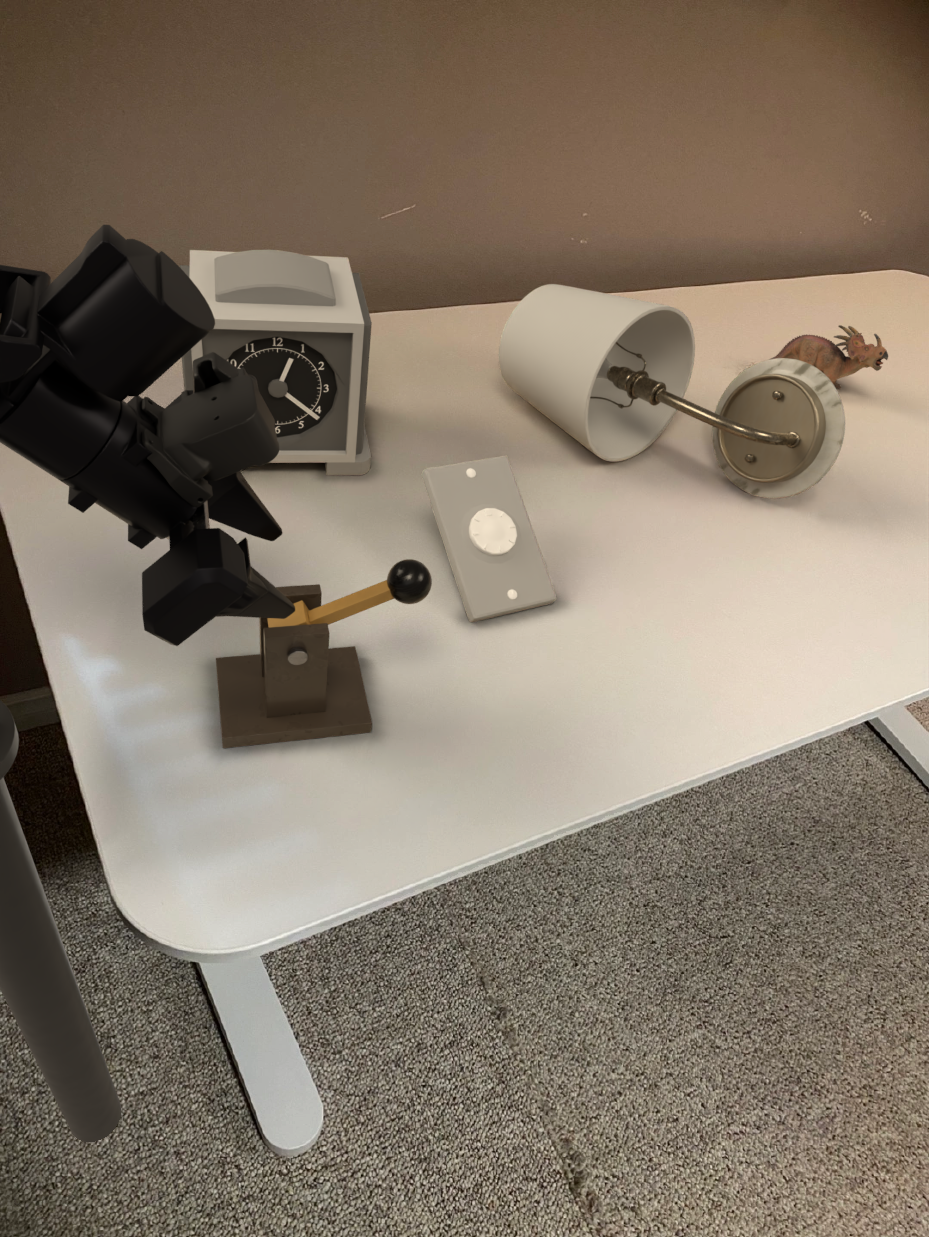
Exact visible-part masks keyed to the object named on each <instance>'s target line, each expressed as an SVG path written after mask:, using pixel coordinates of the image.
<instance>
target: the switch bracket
mask: <svg viewBox="0 0 929 1237" xmlns="http://www.w3.org/2000/svg"><path fill="white" fill-rule="evenodd" d="M275 587H276V588H277V589H278V590H279V591H280V592H282V593H283V594H284V595H285V596H286V597H287V598H288V599H289V600H290V601H291V602H292V603H293V604H294V603H296V602H299V601H301V600H302V601H303V602H304V603H305V605H306V606H307V608H308V609H309V611H310V610H312V609H315V608H317V607H320V606H322V597H323V593H322V588H321V584H320V583H318V584H317V583H316V584H303V585H285V586H275ZM258 621H259V622H258V626H259V628H258V630H259V631H258V632H259V653H257V654H245V655H233V656H222V657H221V656H220V657H215V668H216V681H217V694H218V706H219V718H220V719H219V720H220V731H221V732H220V733H221V744H222V749H230V748H239V747H249V746H258V745H259V746H260V745H267V744H275V743H285V742H287V743H288V742H295V741H304V740H313V739H323V738H333V737H341V736H342V737H343V736H351V735H359V734H360V735H361V734H368V733H369V734H370V733H372V727H373V720H372V716H371V711H370V706H369V703H368V699H367V694H366V688H365V685H364V684H365V683H364V679H363V676H362V670H361V665H360V661H359V657H358V652H357V649H356V648H357V647H356V646H341V647H330V629H329V625H328V624H327V623H322V624H309V625H295V626H282V627H268V619H267V618H258Z"/></svg>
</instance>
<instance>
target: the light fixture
mask: <svg viewBox="0 0 929 1237" xmlns="http://www.w3.org/2000/svg"><path fill="white" fill-rule="evenodd" d="M497 356H498V367H499V371H500V375H501V377H502V380H503V381H504V383H505V385H506V386H507V387H509V389H510V390H511V391H513V392H514V393H515V394H516V395H518V396H519V397H520V398H522V399H523V400H524V401H525V402H527V403H528V404H529V405H531V406H532V407H533V408H534V409H536V410H537V411H539V412H540V413H541V414H542V415H544V416H545V417H546V418H547V419H548V420H550V421H551V422H552V423H554V424H555V425H556V426H558V427H559V428H560V429H561V430H563V431H564V432H565V433H567V434H568V435H569V436H570V437H572V438H573V439H574V440H576V441H577V443H579V444H580V445H581V446H583V447H585V449H587V450H588V451H589V452H591V453H592V454H594V455H595V456H597V457H598V458H600V459H601V460H604V461H607V462H614V463H617V462H622V461H627V460H629V459H631V458H634V457H636V456H637V455H638V454H641V453H642V452H643V451H645V450H646V449H647V448H648V447H650V446H651V445H652V443H654V442H655V441H656V440H657V439H658V438H659V436H660V435H661V434H662V433H663V432H664V431H665V430H666V428H667V427H668V425H669V424H670V422H671V421H672V420H673V418H674V417H675V415H676V414H677V411H678V412H681V413H683V414H685V415H688V416H690V417H691V418H693V419H696V420H698V421H700V422H702V423H704V424H707V425H709V426H711V441H712V442H711V443H712V447H713V448H712V449H713V452H714V455H715V458H716V461H717V463H718V465H719V467H720V469H721V470H722V472H723V474H724V475H725V476H726V477H727V479H728V480H729V481H730V482H731V483H732V484H733V485H735V486H736V487H737V488H739V489H740V490H741V491H743V492H745V493H746V494H750V495H751V496H754V497H758V498H764V499H770V500H771V499H772V500H773V499H774V500H775V499H785V498H790V497H793V496H796V495H800V494H802V493H804V492H806V491H808V490H809V489H811V488H813V487H814V486H815V485H816V484H818V483H819V482H820V481H821V480H822V479H823V478H824V477H825V476H826V475H827V474H828V473H829V471H830V470H831V469H832V468H833V466H834V465H835V463H836V461H837V459H838V457H839V454H840V451H841V450H842V447H843V444H844V439H845V434H846V413H845V408H844V403H843V400H842V398H841V396H840V392H839V391H838V388H836V387H835V386H834V384H833V383H832V382H831V380H830V379H829V378H828V377H827V376H826V375H825V374H824V373H823V372H821V371H820V370H819V369H817V368H816V367H814V366H812V365H810V364H808V363H806V362H803V361H800V360H796V359H789V358H776V359H771V358H769V359H770V360H769V359H765V360H761V361H760V362H757V363H755V364H753V365H751V366H749V367H747V368H746V369H744V370H743V371H741V372H740V373H739V374H738V375H737V376H736V377H734V379H733V380H732V381H731V382H730V383H729V385H727V387H726V388H725V389H724V391H723V393H722V394H721V396H720V398H719V400H718V403H717V405H716V408H715V410H714V411H711V410H709V409H707V408H705V407H703V406H701V405H698V404H696V403H694V402H692V401H689V400H687V399H685V398H684V397H685V395H686V393H687V390H688V388H689V384H690V381H691V379H692V374H693V369H694V365H695V357H696V339H695V332H694V328H693V325H692V322H691V321H690V319H689V317H688V316H687V315H686V313H685V312H684V311H683V310H681V309H679V308H678V307H675V306H672V305H669V304H663V303H658V302H654V301H653V302H652V301H648V300H642V299H638V298H631V297H627V296H621V295H616V294H611V293H605V292H600V291H596V290H590V289H585V288H580V287H574V286H569V285H564V284H557V283H548V284H544V285H541V286H539V287H536V288H535V289H533V290H532V291H530V292H528V293H527V294H526V295H525V296H524V297H523V298H522V299H521V300H520V301H519V302H518V303H517V305H516V306H515V307H514V309H513V310H512V312H511V313H510V315H509V316H508V318H507V320H506V322H505V324H504V327H503V330H502V332H501V336H500V339H499V345H498V354H497Z"/></svg>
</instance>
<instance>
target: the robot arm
mask: <svg viewBox="0 0 929 1237" xmlns="http://www.w3.org/2000/svg"><path fill="white" fill-rule="evenodd" d="M51 279H52V278H51V275H50V274H49V273H47V272H46V271H42V270H36V269H29V268H23V267H17V266H16V267H15V266H10V265H4V264H0V314H1V315H0V444H1V445H3V446H5V447H6V448H8V449H9V450H11V451H13V452H15V453H16V454H18V455H19V456H21V457H22V458H24V459H25V460H27V461H28V462H30V463H31V464H33V465H35V467H38V468H40V469H41V470H43V471H44V472H46V473H47V474H49V475H51V476H52V477H54V478H55V479H57V480H58V481H60V482H62V484H64V485H66V486H67V487H68V495H67V496H68V499H67V504H68V505H70V506H71V507H72V508H74V509H76V510H78V511H79V512H81V513H82V514H85V512H86V511H87V510H88V509H90V508H91V507H92V506H93V505H94V504H95V505H97V506H99V507H100V508H102V509H104V510H105V511H107V512H109V513H110V514H111V515H113V516H115V517H116V518H118V519H120V520H121V521H123V522H124V523H126V524H127V541H128V542H129V543H130V544H132V545H133V546H136V547H137V548H139V549H140V550H144V548H145V547H147V546H148V545H149V544H150V543H151V542H153V541H154V540H155V539H157V538H158V539H160V540H164V539H167V540H168V542H169V550H168V551H166V552H165V553H164V554H162V555H161V556H160V557H159V558H158V559H156V560H155V561H154V562H153V563H152V564H151V565H149V566H148V567H147V568H146V569H144V570H143V571H142V572H141V601H142V602H141V608H142V609H141V610H142V612H141V614H142V622H143V629H144V631H145V632H147V633H149V634H150V635H152V636H154V637H156V638H158V639H159V640H161V641H163V642H165V643H167V644H169V645H171V646H175V647H179V646H180V645H181V644H182V643H184V642H185V641H186V640H188V639H189V638H190V637H192V636H193V635H194V634H195V633H197V632H198V631H200V629H202V628H203V627H204V626H206V625H207V624H208V623H210V622H211V621H212V620H213V619H215V618H216V617H217V618H218V617H232V618H233V617H234V618H235V617H237V618H239V617H240V618H256V619H257V618H258V619H259V618H276V619H285V618H287V617H288V616H290V615H291V614H292V613H294V612H295V605H294V604H293V603H292V602H291V601H290V600H289V599H288V598H287V597H286V596H285V595H284V594H283V593H282V592H280V591H279V590H278V589H277V588H276V587H277V586H275V585H274V584H273V583H272V582H270V581H269V580H268V579H267V578H266V577H264V576H263V575H262V574H261V573H260V572H259V571H257V569H255V568H254V567H253V566H252V564H251V557H250V548H249V541H248V539H247V537H244V538H243V539H241V540H240V541H239V542H238V543H237V541H236V540H235V538H234V537H233V536H231V535H230V534H228V533H227V532H226V531H224V530H223V529H222V528H220V527H216V528H215V527H212V528H211V527H210V520H212V521H214V522H217V523H220V524H222V525H225V526H227V527H230V528H232V529H235V530H237V531H240V532H242V533H245V534H247V535H249V536H253V537H256V538H259V539H262V540H265V541H268V542H274V541H276V540H278V538H280V537H282V535H283V529H282V527H281V526H280V524H279V523H278V521H277V520H276V519H275V517H274V516H273V515H272V513H271V512H270V511H269V510H268V508H267V507H266V506H265V504H264V503H263V501H262V500H261V499H260V497H259V496H258V495H257V494H256V492H255V491H254V489H253V488H252V487H251V485H250V484H249V482H248V481H247V479H245V477H244V475H243V474H242V472H241V471H243V470H247V469H249V468H251V467H254V466H255V467H262V466H265V465H267V464H270V463H269V462H270V461H272V460H273V459H274V458H275V457H276V456H277V455H278V453H279V450H280V448H279V443H278V440H277V436H276V430H275V420H274V418H273V416H272V414H271V412H270V411H269V409H268V407H267V405H266V403H265V401H264V400H263V398H262V396H261V394H260V392H259V390H258V384H257V380H256V378H255V377H254V376H253V375H248V374H247V372H246V371H245V369H244V368H241V369H237V368H236V367H235V366H234V365H232V364H231V363H229V362H228V361H226V360H225V359H224V358H222V357H221V356H219V355H218V354H216V353H214V352H212V353H210V354H207V355H205V356H202V357H200V358H197V359H195V360H194V361H193V387H194V390H185V391H184V390H182V391H181V393H180V394H179V395H178V396H177V397H176V398H174V399H173V401H172V402H170V403H169V404H168V405H167V406H165V407H163V406H162V405H160V404H158V403H157V402H155V401H154V400H153V399H152V398H150V397H149V396H144V397H142V396H140V395H142V394H143V393H144V392H145V391H146V390H147V389H148V388H150V387H151V386H152V385H153V384H154V383H155V382H156V381H158V380H159V378H161V377H162V376H163V375H164V374H165V373H166V372H167V371H169V370H170V368H172V367H173V366H174V365H175V364H176V363H177V362H178V361H180V360H181V359H182V357H183V356H184V355H185V354H186V353H187V352H188V351H189V350H190V349H191V348H193V347H194V346H195V345H196V344H197V343H198V342H199V341H200V340H201V339H203V338H204V337H205V336H206V335H207V334H208V333H209V332H210V331H211V330H212V329H214V326H215V319H214V316H213V313H212V310H211V309H210V307H209V305H208V303H207V301H206V299H205V298H204V296H203V295H202V293H201V292H200V290H199V289H198V288H197V287H196V285H195V284H194V283H193V281H192V280H191V279H190V278H189V277H188V276H187V275H186V273H185V272H184V271H183V270H182V269H181V268H180V265H178V264H177V263H176V262H175V261H174V260H173V259H172V258H171V257H170V256H169V255H167V254H166V253H165V252H164V251H162V250H160V251H159V252H158V251H157V250H155V249H154V248H152V247H151V246H149V245H148V244H146V243H144V242H143V241H141V240H138V239H135V238H127V239H126V238H125V237H124V236H123V235H121V233H119V232H118V231H117V230H116V229H115V228H114V227H113V226H111V225H110V224H102V225H101V226H100V227H99V228H98V229H97V230H96V231H95V232H94V233H93V234H92V235H91V236H90V238H89V239H88V240H87V241H86V243H85V245H84V247H83V249H82V251H81V252H80V253H79V255H77V257H76V258H75V259H74V260H73V261H72V262H71V263H70V264H69V265H68V266H67V267H66V268H65V269H63V271H62V272H61V273H60V274H58V276H57V277H55V279H54V280H53V281H52V280H51ZM128 397H132V398H131V399H129V401H128V402H125V400H126V399H127V398H128Z"/></svg>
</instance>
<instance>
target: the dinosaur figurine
mask: <svg viewBox="0 0 929 1237" xmlns="http://www.w3.org/2000/svg"><path fill="white" fill-rule="evenodd" d="M838 328H840V329H841V330H843V332H845V333H846V334H847V335H841V334H840V335H838V334H837V335H834V336H833V338H835V339H838V340H842V342H839V343H836V344H835V343H834V342H833V340H830V339H828V338H826V337H824V336H820V335H815V334H801V335H797V336H796V337H794V338H792V340H790V341H788V342H787V343H786V344H785V345H784V346H783V347H782V348H781V350H780V351H779V352H778V353H777V354H776V355H774V356H773V357H771V358H769V359H768V360H770V359H776V358H789V359H796V360H800V361H803V362H806V363H808V364H810V365H812V366H814V367H816V368H817V369H819V370H820V371H821V372H823V373H824V374H825V375H826V376H827V377H828V378H829V379H830V380H831V382H832V383H833V384H834V386H835V388H836V389H841V388H842V387H841V384H840V383H838V382H837V381H838V380H839V379H842V378H845V377H848V376H851V375H854V374H856V373H857V372H858V371H860V370H862V369H863V368H866V369H867V368H871V369H873V370H874V371H876V372H877V371H880V370H881V369H882V367H883V366H882V365H883V364H884V362H883V360H886V361H888V360H889V353H888V351H887V349H886V348H885V347H884V346H883V343H882V340H881V337H880V336H879V335H878V334H877V333H874V334H873V336H874V337H875V339H876V346H875V344H874V343H867V344H866V341H865V338H864V336H863V335H862V332H859V331H858V330H857V329H856V328H855V327H853V326H851V325H848V327H845V326H843V325H840V324H839V325H838ZM840 347H842V349H841V348H840ZM844 351H845V352H846V353H847V356H846V355H845V353H844Z"/></svg>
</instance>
